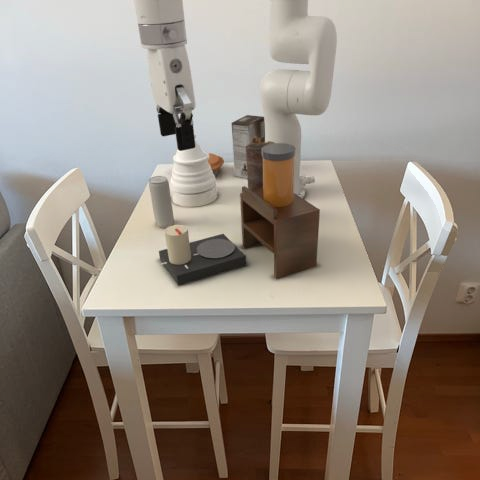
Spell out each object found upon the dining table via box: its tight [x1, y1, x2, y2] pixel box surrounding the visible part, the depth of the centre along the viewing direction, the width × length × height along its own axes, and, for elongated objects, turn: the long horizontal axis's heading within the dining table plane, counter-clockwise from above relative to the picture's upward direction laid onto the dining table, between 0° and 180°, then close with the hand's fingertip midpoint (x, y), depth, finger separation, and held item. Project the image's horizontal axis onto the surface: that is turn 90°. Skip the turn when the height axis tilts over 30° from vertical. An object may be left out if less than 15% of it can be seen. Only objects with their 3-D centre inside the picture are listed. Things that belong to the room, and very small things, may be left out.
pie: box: [208, 152, 225, 177], centre depth 146 cm, size 15×16×5 cm
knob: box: [164, 224, 191, 265], centre depth 99 cm, size 5×5×7 cm
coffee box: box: [231, 114, 265, 179], centre depth 141 cm, size 9×6×16 cm
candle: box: [246, 141, 275, 190], centre depth 112 cm, size 8×7×20 cm
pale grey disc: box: [197, 239, 236, 259], centre depth 104 cm, size 9×9×1 cm
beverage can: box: [148, 175, 175, 229], centre depth 117 cm, size 5×5×12 cm
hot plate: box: [158, 233, 247, 287], centre depth 103 cm, size 18×12×3 cm
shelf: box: [239, 185, 321, 280], centre depth 101 cm, size 10×16×15 cm, turn 26°
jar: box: [261, 143, 295, 207], centre depth 94 cm, size 7×7×11 cm
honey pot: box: [169, 132, 218, 208], centre depth 128 cm, size 13×13×18 cm
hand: (177, 141), depth 87 cm, fingers open, 9 cm apart
